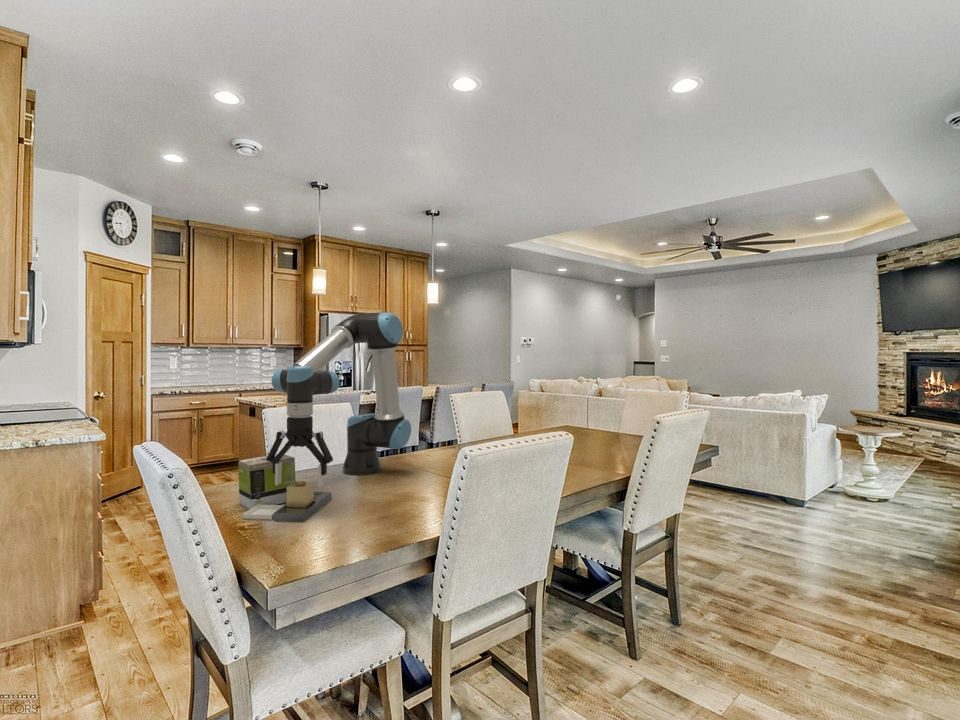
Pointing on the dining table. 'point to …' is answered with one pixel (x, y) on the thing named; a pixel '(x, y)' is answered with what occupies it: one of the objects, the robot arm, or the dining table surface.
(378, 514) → the dining table surface
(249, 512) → the tray
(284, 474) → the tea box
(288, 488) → the brass rectangular block
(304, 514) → the rail
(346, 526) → the dining table surface
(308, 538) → the dining table surface
